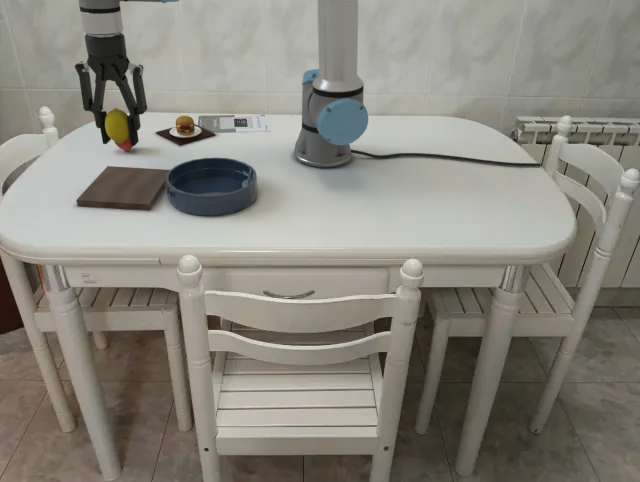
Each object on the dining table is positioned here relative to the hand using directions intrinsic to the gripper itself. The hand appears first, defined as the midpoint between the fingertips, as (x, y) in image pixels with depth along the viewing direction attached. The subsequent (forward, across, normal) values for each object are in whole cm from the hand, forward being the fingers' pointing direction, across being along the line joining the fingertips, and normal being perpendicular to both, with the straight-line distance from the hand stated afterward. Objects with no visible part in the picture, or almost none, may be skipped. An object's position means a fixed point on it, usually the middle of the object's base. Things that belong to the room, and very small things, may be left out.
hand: (121, 142), depth 123 cm
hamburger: (+12, -4, -36) cm, 38 cm away
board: (+12, 0, 0) cm, 12 cm away
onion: (+12, +8, -22) cm, 26 cm away
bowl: (+12, -20, 0) cm, 23 cm away
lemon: (0, 0, 0) cm, 0 cm away
